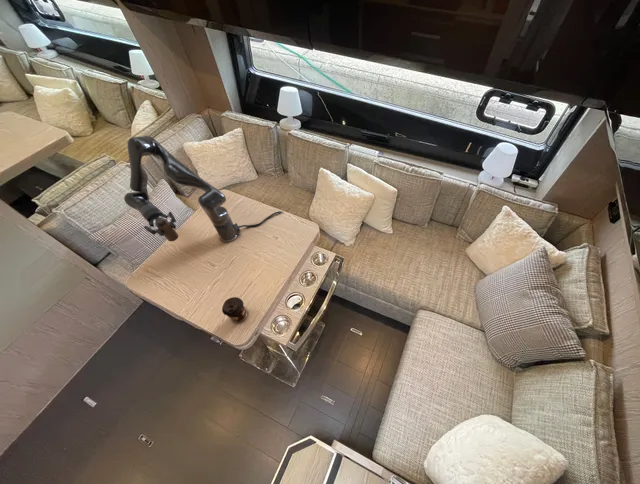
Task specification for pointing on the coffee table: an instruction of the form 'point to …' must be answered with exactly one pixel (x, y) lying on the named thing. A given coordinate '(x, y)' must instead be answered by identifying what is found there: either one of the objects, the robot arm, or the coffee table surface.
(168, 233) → the pepper mill
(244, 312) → the dark brown cylinder
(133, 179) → the robot arm
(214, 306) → the coffee table surface
